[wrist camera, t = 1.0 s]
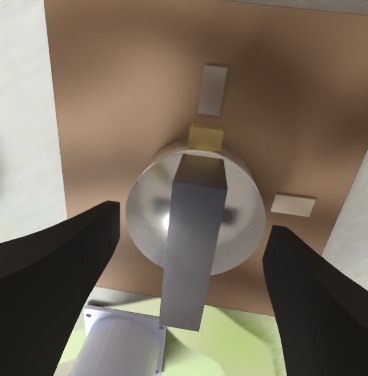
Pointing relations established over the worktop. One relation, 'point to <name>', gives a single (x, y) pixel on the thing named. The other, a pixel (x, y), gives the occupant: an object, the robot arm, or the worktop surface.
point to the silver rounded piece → (194, 219)
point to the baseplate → (210, 114)
